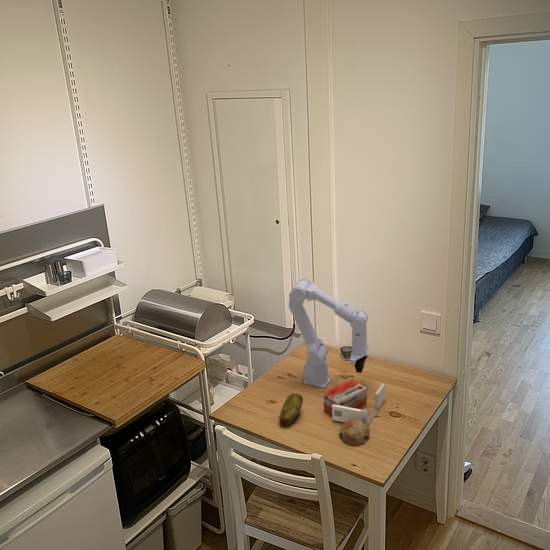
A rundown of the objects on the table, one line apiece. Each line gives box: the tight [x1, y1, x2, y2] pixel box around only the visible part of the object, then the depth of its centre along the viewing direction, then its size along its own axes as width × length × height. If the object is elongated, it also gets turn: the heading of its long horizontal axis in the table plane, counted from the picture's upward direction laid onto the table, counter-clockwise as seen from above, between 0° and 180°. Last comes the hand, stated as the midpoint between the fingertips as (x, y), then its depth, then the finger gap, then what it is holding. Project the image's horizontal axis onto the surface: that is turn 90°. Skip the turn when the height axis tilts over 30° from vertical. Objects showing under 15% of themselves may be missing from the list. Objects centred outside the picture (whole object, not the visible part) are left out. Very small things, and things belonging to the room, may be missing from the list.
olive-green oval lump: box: [279, 393, 304, 426], centre depth 215 cm, size 8×13×8 cm, turn 135°
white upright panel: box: [361, 383, 386, 428], centre depth 215 cm, size 2×21×7 cm, turn 151°
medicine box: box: [323, 379, 368, 416], centre depth 219 cm, size 15×8×8 cm, turn 126°
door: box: [331, 404, 362, 423], centre depth 210 cm, size 1×11×6 cm, turn 66°
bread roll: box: [338, 420, 370, 446], centre depth 203 cm, size 10×10×8 cm
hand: (359, 371), depth 231 cm, fingers closed
